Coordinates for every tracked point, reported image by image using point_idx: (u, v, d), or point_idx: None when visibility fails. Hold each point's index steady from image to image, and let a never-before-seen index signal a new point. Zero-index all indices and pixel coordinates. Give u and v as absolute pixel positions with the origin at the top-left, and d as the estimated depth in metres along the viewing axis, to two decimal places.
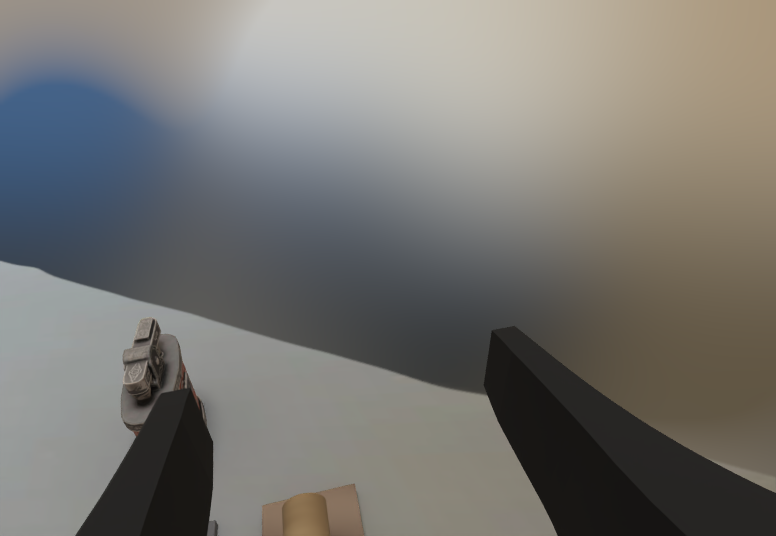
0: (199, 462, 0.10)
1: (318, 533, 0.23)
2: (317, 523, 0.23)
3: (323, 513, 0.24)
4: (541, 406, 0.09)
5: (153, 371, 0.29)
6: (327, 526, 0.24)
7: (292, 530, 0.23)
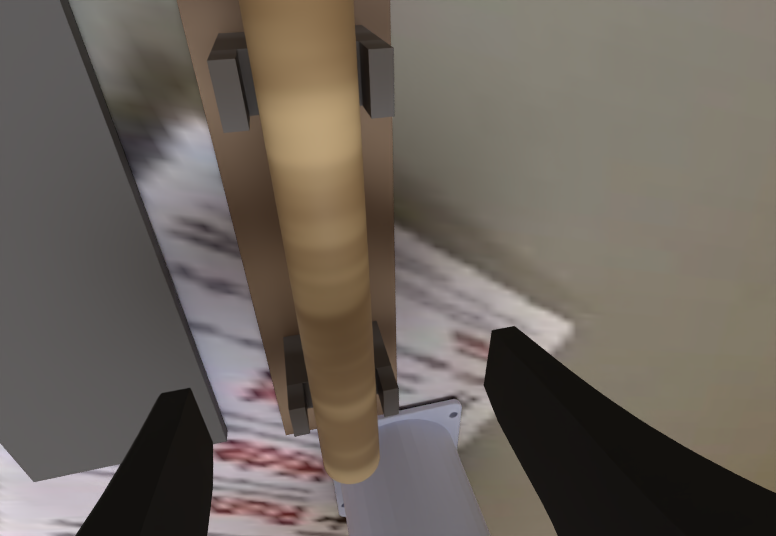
0: (199, 462, 0.10)
1: (339, 58, 0.10)
2: (336, 30, 0.09)
3: None
4: (541, 406, 0.09)
5: None
6: (353, 24, 0.10)
7: (275, 38, 0.09)
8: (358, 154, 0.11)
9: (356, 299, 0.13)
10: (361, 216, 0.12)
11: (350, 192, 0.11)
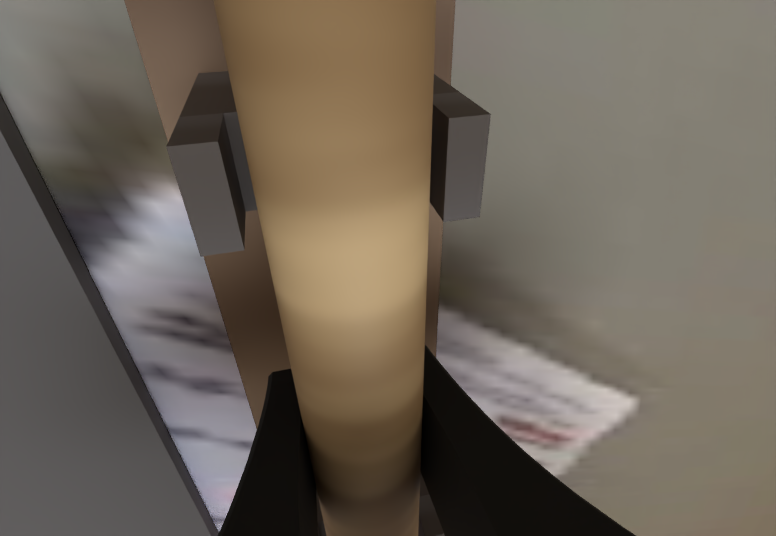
0: None
1: (410, 148, 0.05)
2: (409, 100, 0.05)
3: (430, 27, 0.05)
4: (432, 431, 0.09)
5: None
6: (433, 82, 0.05)
7: (293, 119, 0.05)
8: (424, 284, 0.07)
9: (405, 471, 0.09)
10: (420, 365, 0.08)
11: (409, 343, 0.07)
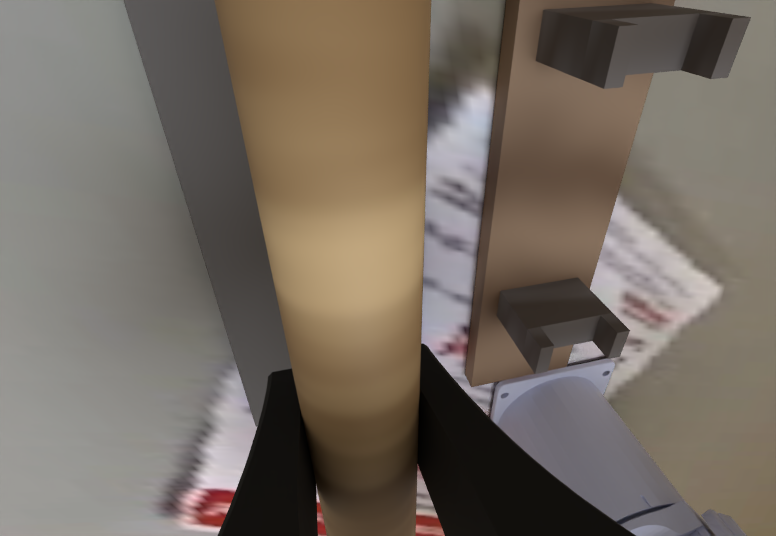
0: None
1: (401, 152, 0.05)
2: (399, 106, 0.05)
3: (423, 35, 0.05)
4: (433, 430, 0.09)
5: None
6: (427, 88, 0.06)
7: (285, 121, 0.05)
8: (419, 284, 0.07)
9: (399, 466, 0.09)
10: (415, 364, 0.08)
11: (402, 341, 0.07)
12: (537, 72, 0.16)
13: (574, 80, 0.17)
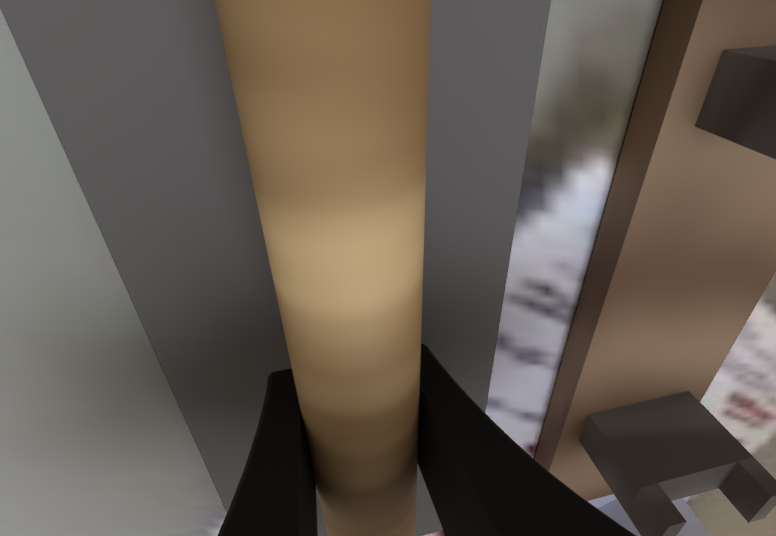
0: None
1: (402, 151, 0.05)
2: (399, 105, 0.05)
3: (423, 35, 0.05)
4: (432, 431, 0.09)
5: None
6: (427, 87, 0.06)
7: (284, 121, 0.05)
8: (419, 284, 0.07)
9: (399, 465, 0.09)
10: (415, 364, 0.08)
11: (402, 341, 0.07)
12: (694, 142, 0.11)
13: (743, 151, 0.11)
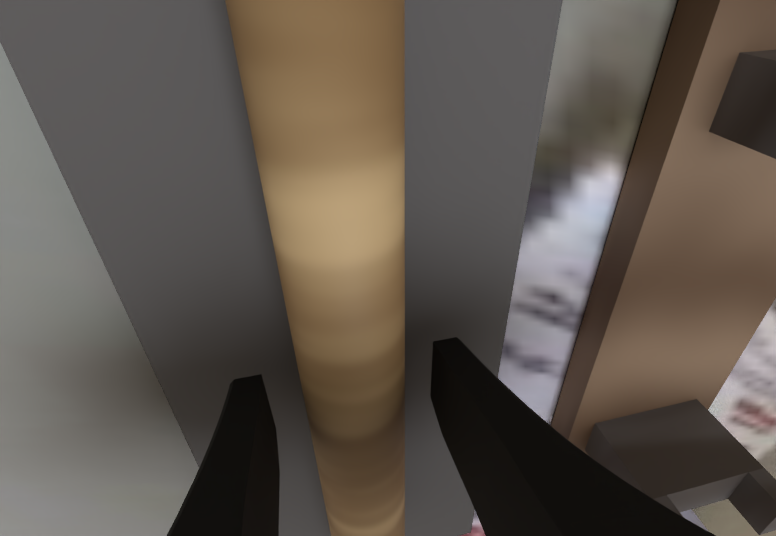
0: (271, 446, 0.10)
1: (381, 120, 0.06)
2: (378, 80, 0.06)
3: (397, 21, 0.06)
4: (472, 422, 0.09)
5: None
6: (403, 67, 0.07)
7: (283, 92, 0.06)
8: (400, 243, 0.08)
9: (387, 416, 0.10)
10: (399, 318, 0.09)
11: (386, 293, 0.08)
12: (707, 148, 0.10)
13: (757, 157, 0.11)
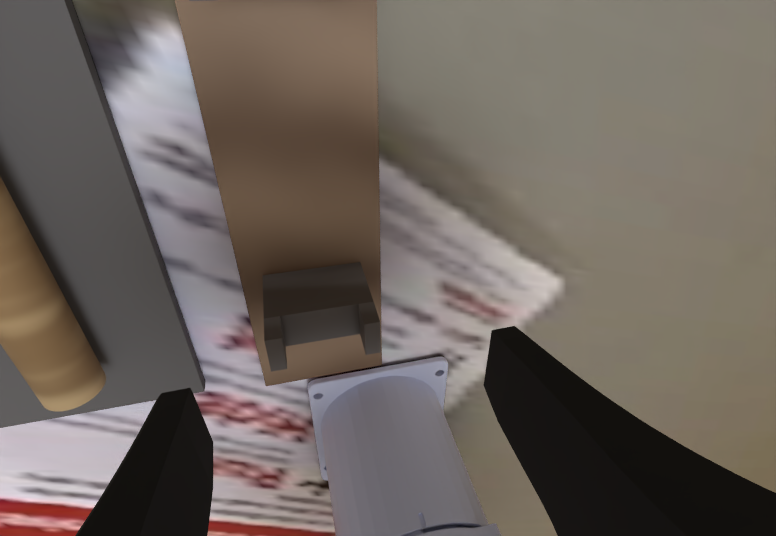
0: (199, 462, 0.10)
1: None
2: None
3: None
4: (541, 406, 0.09)
5: None
6: None
7: None
8: None
9: None
10: None
11: None
12: (212, 2, 0.14)
13: (269, 15, 0.14)
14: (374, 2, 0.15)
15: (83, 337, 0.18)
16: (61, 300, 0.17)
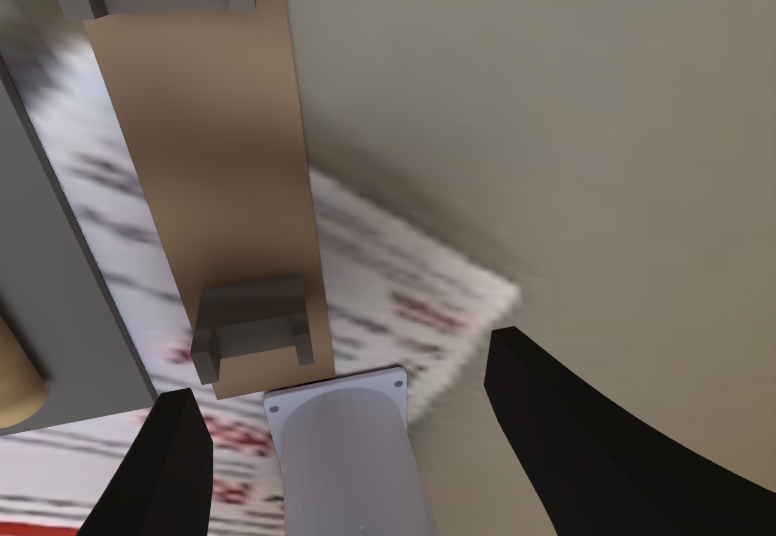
0: (199, 462, 0.10)
1: None
2: None
3: None
4: (541, 406, 0.09)
5: None
6: None
7: None
8: None
9: None
10: None
11: None
12: (121, 22, 0.14)
13: (180, 33, 0.14)
14: (285, 17, 0.15)
15: (21, 354, 0.18)
16: None
